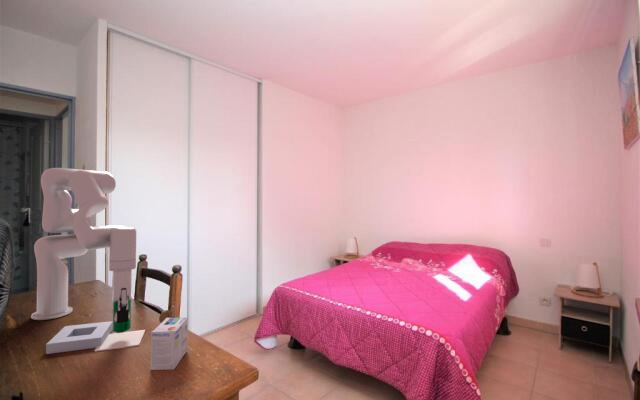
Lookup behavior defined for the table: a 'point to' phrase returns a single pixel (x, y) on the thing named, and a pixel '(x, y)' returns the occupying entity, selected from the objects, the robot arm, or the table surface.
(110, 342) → the mat
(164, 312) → the snail figurine
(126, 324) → the soda can
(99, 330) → the collar
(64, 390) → the table surface
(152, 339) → the light bulb box
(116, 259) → the robot arm
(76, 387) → the table surface
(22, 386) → the table surface
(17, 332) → the table surface
